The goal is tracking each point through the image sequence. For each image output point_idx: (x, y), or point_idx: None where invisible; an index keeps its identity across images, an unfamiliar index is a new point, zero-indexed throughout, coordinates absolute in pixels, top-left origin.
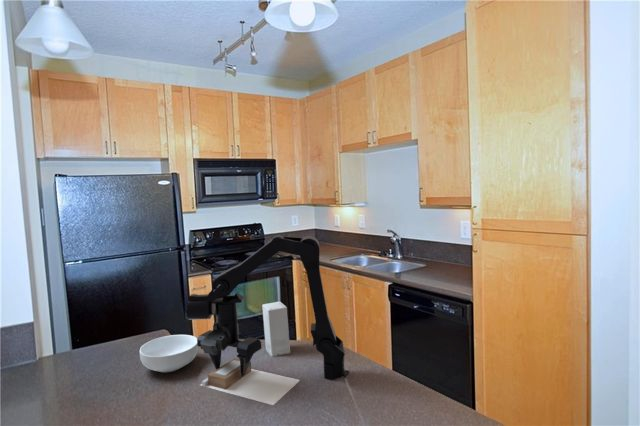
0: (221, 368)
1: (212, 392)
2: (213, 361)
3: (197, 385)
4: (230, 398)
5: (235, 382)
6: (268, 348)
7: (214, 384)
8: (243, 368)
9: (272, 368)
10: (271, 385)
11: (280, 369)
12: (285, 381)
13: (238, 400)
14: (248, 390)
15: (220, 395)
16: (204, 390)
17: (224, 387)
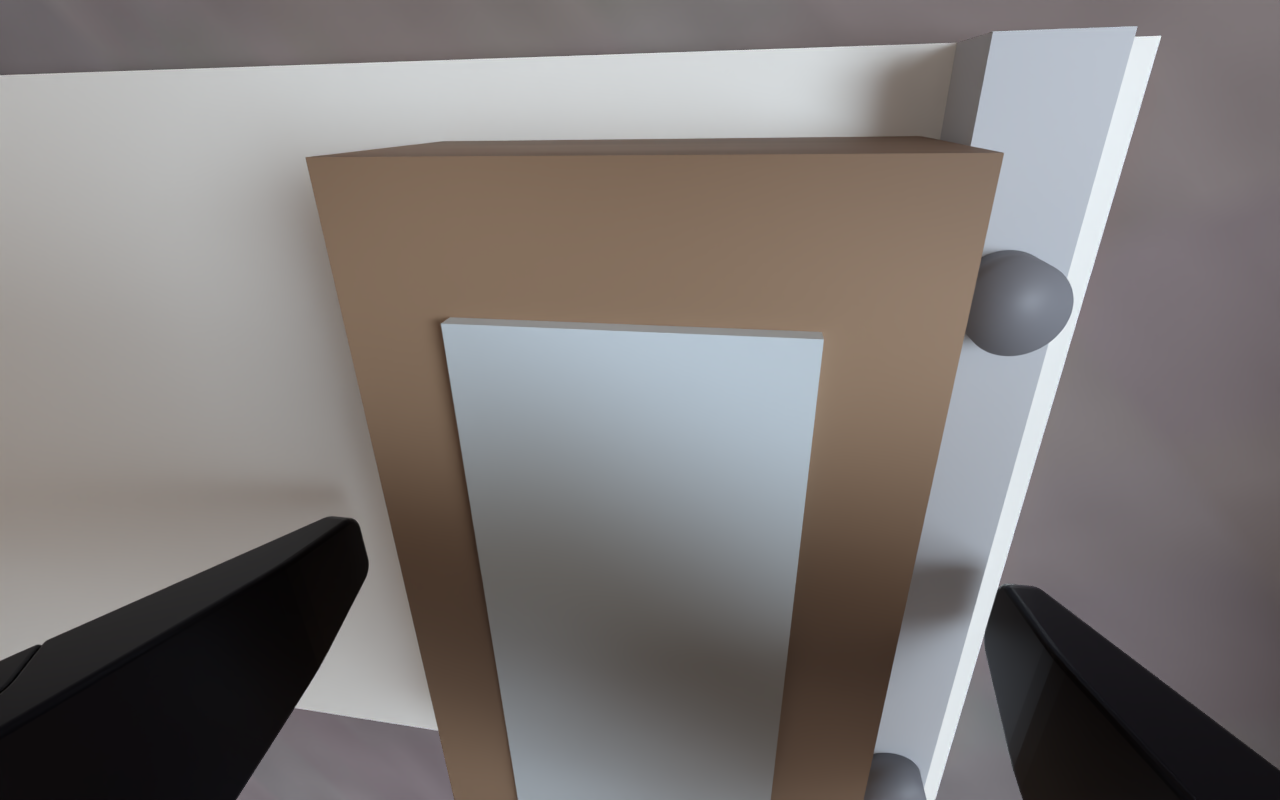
0: (820, 582)
1: (705, 22)
2: (1211, 755)
3: (1258, 108)
4: (251, 12)
5: None
6: None
7: (728, 140)
8: (134, 610)
9: (416, 795)
10: (30, 491)
11: (333, 789)
12: (9, 600)
13: (103, 27)
14: (123, 283)
15: (478, 6)
16: (937, 3)
17: (447, 142)
